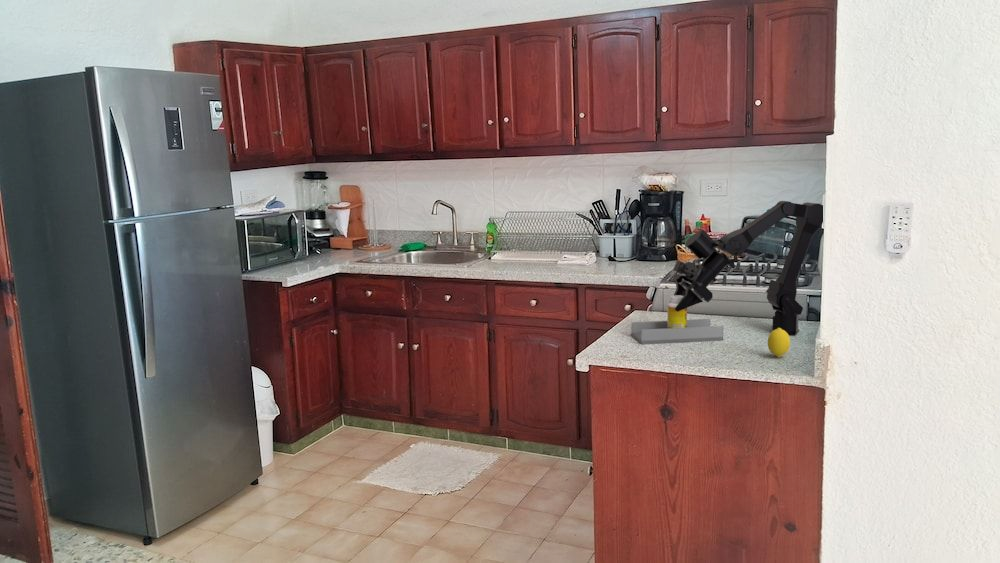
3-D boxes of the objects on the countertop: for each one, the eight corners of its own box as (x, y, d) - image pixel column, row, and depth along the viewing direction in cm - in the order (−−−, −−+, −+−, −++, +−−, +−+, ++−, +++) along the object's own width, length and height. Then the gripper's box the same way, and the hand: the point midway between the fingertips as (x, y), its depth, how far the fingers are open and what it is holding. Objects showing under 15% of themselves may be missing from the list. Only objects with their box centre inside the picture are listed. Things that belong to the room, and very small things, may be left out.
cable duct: (708, 331, 238) (709, 318, 237) (723, 340, 226) (723, 326, 226) (631, 335, 235) (631, 322, 235) (641, 344, 224) (641, 330, 224)
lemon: (763, 355, 209) (764, 326, 208) (783, 354, 209) (784, 325, 208) (772, 360, 204) (773, 330, 202) (793, 359, 204) (794, 329, 203)
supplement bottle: (687, 332, 227) (688, 297, 226) (668, 332, 228) (668, 298, 226) (685, 328, 233) (685, 294, 231) (666, 328, 234) (666, 294, 232)
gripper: (680, 247, 236) (644, 285, 237) (701, 254, 218) (663, 296, 219) (705, 271, 238) (670, 309, 239) (729, 281, 220) (690, 322, 221)
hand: (672, 308), depth 229 cm, fingers closed on supplement bottle, 5 cm apart
